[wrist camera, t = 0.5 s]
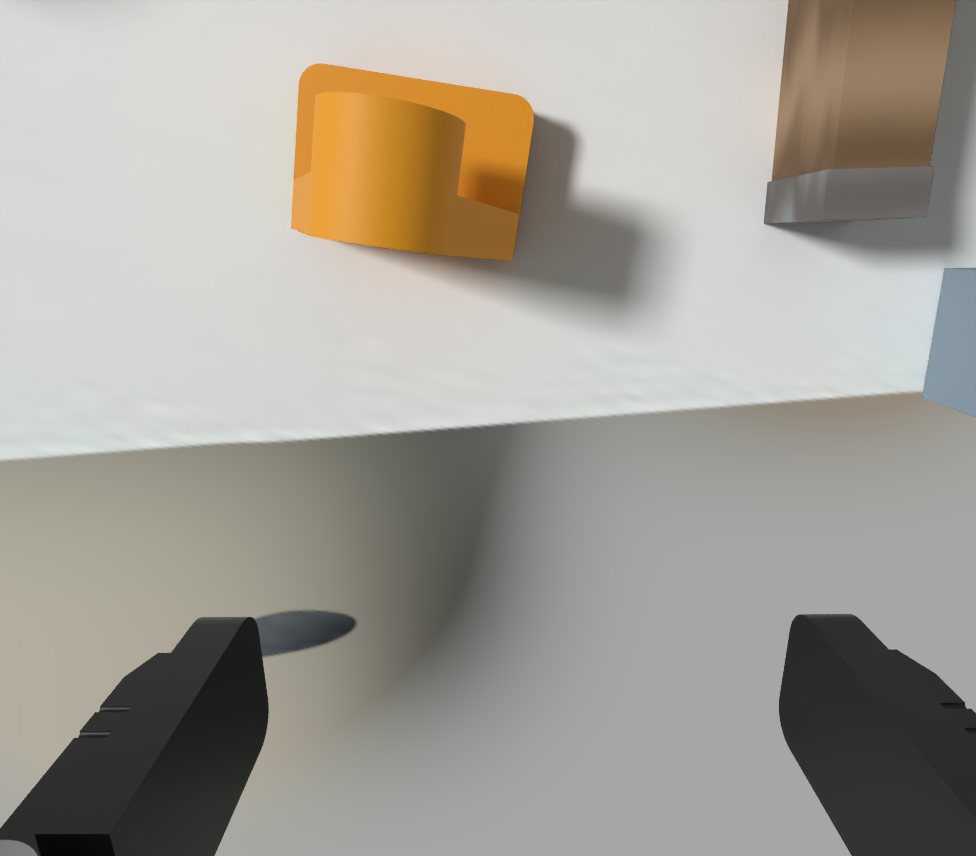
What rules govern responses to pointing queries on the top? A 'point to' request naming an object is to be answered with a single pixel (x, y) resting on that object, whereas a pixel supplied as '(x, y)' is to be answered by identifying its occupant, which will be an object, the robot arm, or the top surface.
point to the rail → (858, 109)
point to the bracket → (409, 163)
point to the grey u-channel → (954, 344)
